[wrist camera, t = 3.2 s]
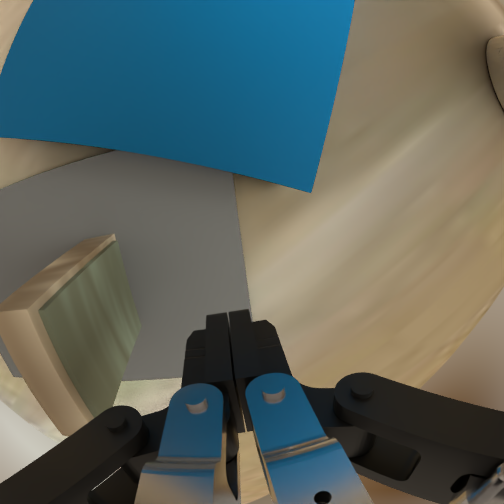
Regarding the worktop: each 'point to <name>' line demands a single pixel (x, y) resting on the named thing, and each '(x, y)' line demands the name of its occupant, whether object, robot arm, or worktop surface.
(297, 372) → the worktop surface
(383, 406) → the robot arm
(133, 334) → the tile
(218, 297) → the mat
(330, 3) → the book
